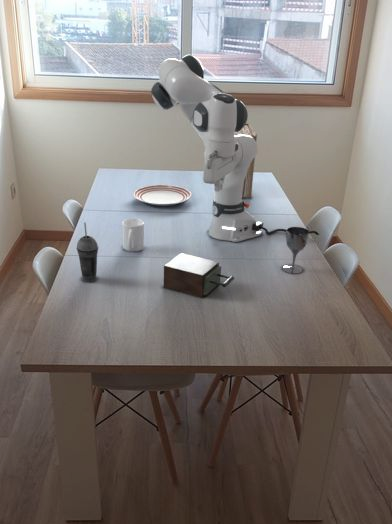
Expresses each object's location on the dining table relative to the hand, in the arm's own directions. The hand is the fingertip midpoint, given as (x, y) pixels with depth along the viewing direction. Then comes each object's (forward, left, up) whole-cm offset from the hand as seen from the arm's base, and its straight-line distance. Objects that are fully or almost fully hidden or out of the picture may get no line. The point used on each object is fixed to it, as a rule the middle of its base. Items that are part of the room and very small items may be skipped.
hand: (218, 190), depth 197 cm
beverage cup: (+44, -10, -29) cm, 54 cm away
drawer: (+11, +12, -28) cm, 33 cm away
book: (-59, -77, -29) cm, 101 cm away
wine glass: (-27, +12, -29) cm, 42 cm away
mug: (+20, -28, -29) cm, 45 cm away
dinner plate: (-17, -78, -29) cm, 85 cm away
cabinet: (+14, +9, -29) cm, 33 cm away
